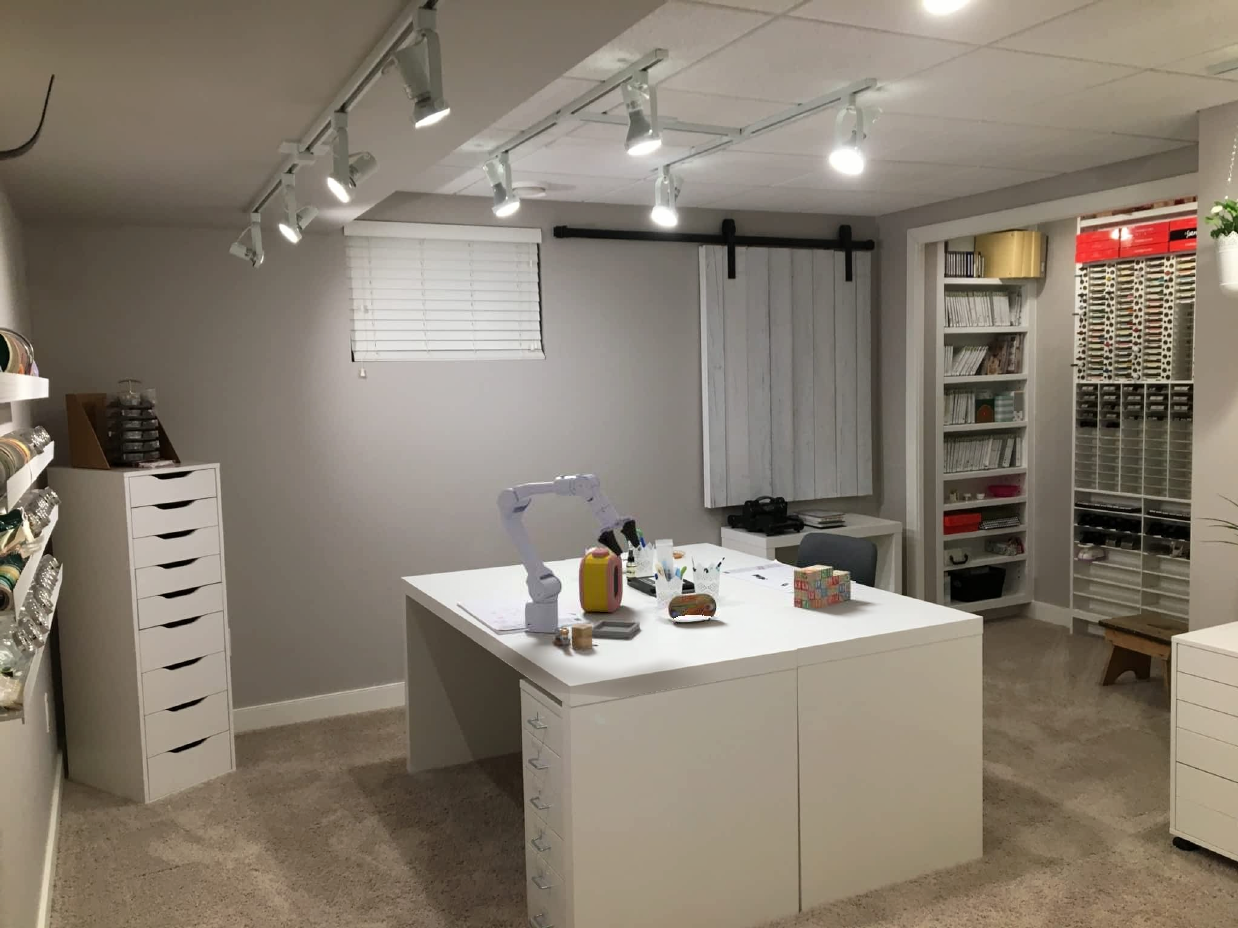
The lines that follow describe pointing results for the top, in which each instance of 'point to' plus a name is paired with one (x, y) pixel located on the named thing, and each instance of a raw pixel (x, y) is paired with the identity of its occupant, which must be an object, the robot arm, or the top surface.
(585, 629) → the stop block
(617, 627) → the tray
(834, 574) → the stack of blocks
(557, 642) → the crank base
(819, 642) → the top surface
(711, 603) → the tin
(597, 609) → the alarm clock
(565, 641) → the crank
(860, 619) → the top surface
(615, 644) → the top surface
